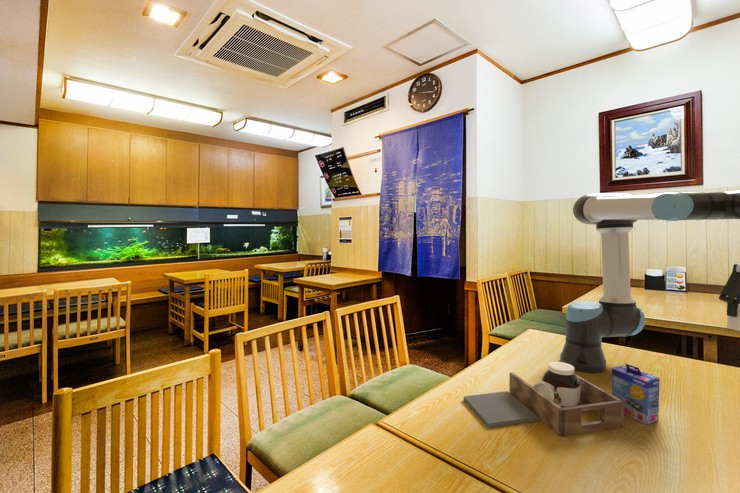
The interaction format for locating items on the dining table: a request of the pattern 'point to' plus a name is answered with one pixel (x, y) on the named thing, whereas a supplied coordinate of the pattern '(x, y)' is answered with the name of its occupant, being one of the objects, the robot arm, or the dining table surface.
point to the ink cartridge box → (637, 393)
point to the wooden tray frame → (571, 417)
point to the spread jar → (560, 384)
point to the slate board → (500, 409)
